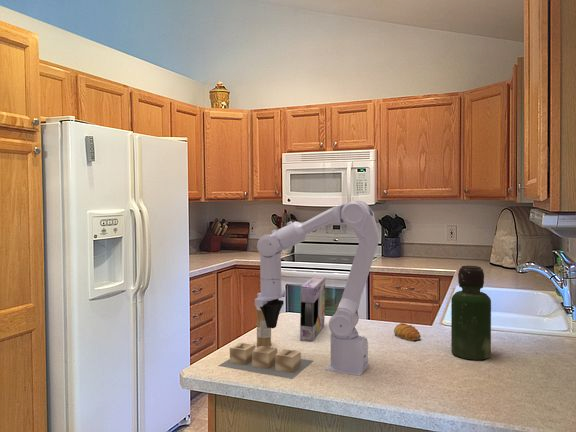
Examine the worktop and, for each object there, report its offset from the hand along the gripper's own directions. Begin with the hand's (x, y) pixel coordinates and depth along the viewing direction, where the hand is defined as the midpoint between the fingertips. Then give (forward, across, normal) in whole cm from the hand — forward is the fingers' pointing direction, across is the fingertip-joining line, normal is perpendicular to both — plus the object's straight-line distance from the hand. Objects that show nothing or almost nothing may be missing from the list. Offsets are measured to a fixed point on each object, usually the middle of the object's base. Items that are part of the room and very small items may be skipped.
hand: (271, 327), depth 128 cm
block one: (+9, +4, +7) cm, 12 cm away
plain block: (+9, +4, 0) cm, 10 cm away
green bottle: (+10, -28, +49) cm, 57 cm away
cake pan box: (+10, -29, 0) cm, 31 cm away
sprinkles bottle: (+10, -10, -8) cm, 16 cm away
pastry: (+10, -38, +29) cm, 49 cm away
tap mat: (+9, +3, 0) cm, 10 cm away
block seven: (+9, +4, -7) cm, 12 cm away
